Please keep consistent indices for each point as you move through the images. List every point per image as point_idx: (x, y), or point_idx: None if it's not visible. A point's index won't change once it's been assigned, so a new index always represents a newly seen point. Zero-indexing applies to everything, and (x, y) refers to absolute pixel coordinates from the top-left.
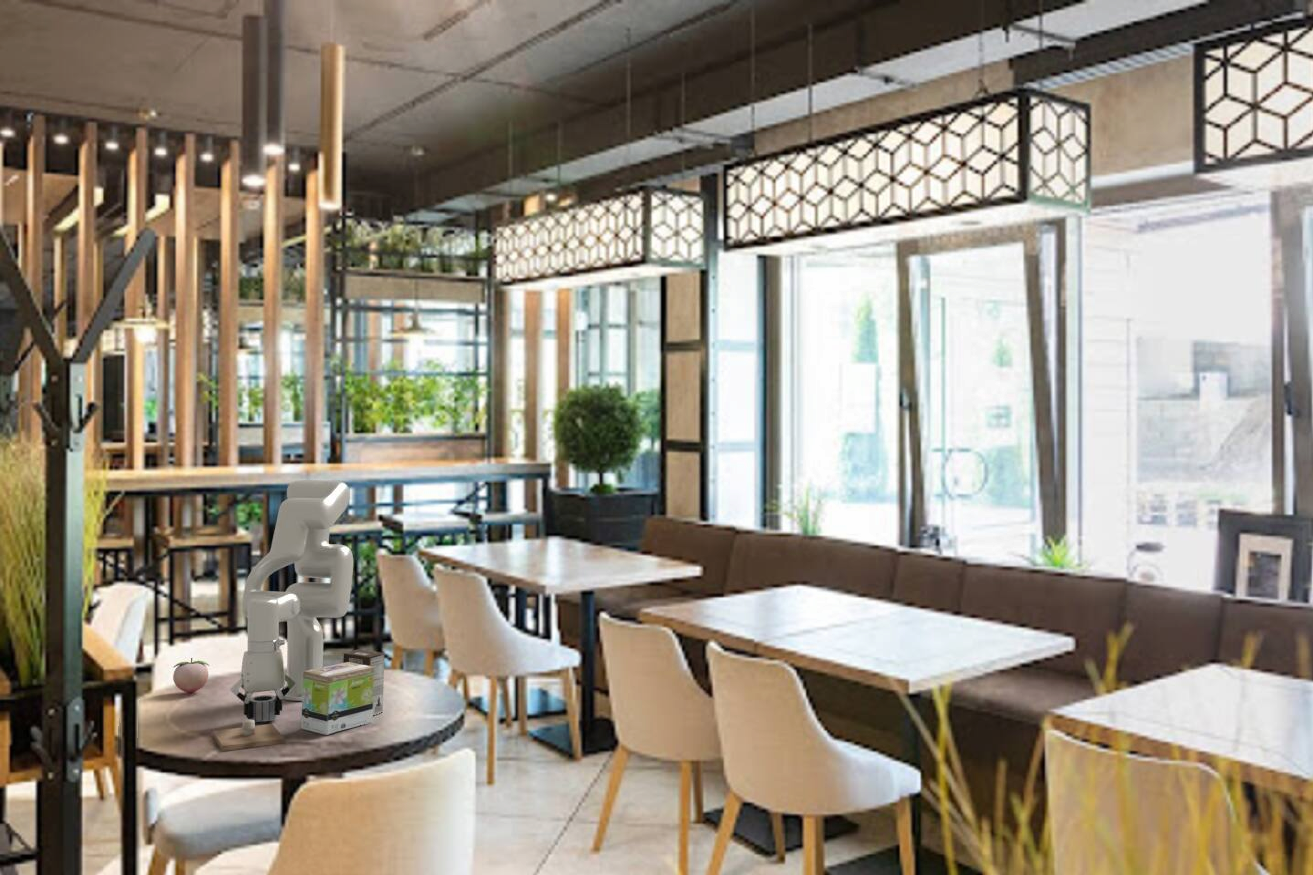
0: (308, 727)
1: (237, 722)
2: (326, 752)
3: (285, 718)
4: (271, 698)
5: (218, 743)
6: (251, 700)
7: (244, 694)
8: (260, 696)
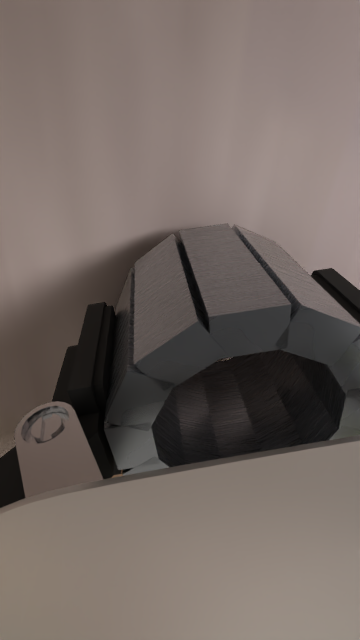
0: None
1: (33, 278)
2: None
3: (349, 271)
4: (336, 381)
5: None
6: (127, 461)
7: (30, 491)
8: (240, 351)
